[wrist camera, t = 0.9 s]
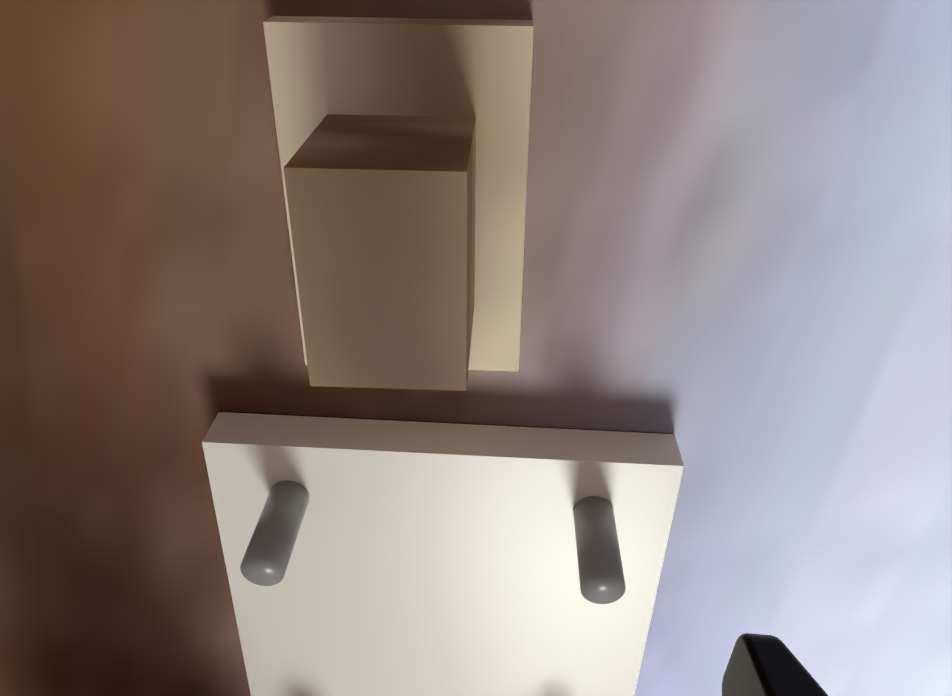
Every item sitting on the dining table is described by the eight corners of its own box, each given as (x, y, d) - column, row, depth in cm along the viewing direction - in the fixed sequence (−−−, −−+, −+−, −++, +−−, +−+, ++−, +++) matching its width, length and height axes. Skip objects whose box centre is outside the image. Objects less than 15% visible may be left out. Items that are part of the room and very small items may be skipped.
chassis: (273, 725, 32) (240, 840, 28) (218, 412, 24) (162, 513, 20) (611, 745, 32) (624, 864, 28) (674, 434, 24) (705, 542, 20)
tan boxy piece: (314, 343, 23) (266, 454, 18) (277, 13, 18) (200, 56, 14) (518, 349, 23) (518, 463, 18) (532, 17, 18) (538, 62, 14)
